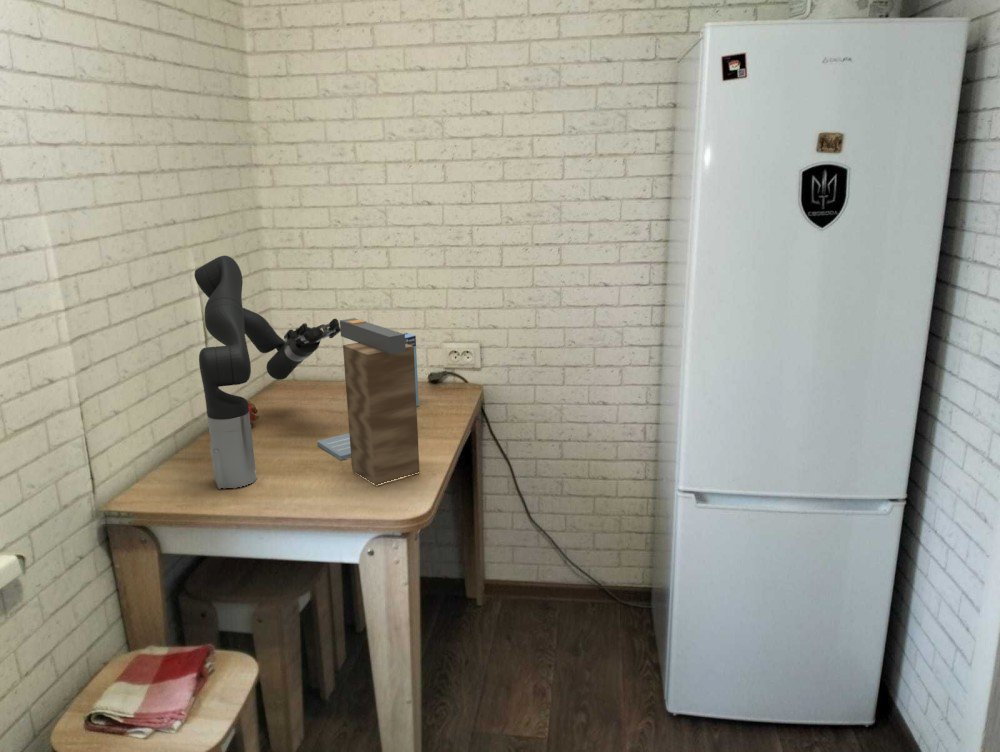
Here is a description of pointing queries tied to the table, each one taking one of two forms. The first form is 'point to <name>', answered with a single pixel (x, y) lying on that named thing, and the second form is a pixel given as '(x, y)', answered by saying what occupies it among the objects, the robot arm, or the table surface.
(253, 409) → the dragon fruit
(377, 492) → the table surface
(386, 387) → the walnut stand
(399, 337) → the bar
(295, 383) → the table surface
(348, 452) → the board
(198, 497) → the table surface
